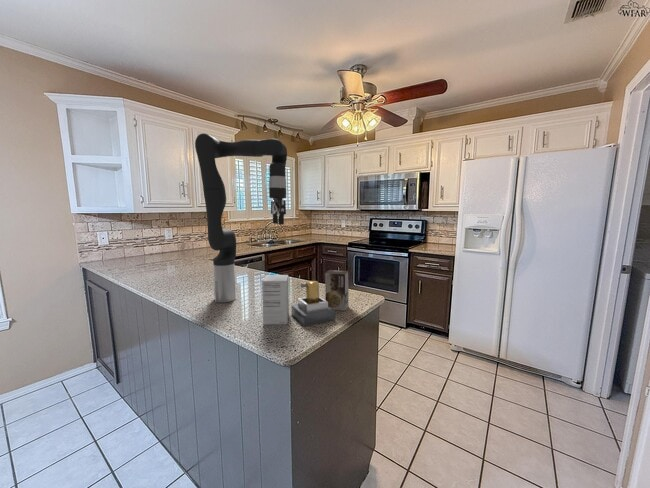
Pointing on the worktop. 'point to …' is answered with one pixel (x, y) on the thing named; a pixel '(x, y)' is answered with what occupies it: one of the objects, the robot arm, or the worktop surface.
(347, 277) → the coffee box
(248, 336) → the worktop surface
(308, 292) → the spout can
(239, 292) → the worktop surface
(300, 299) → the grey square socket base
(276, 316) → the supplement box
